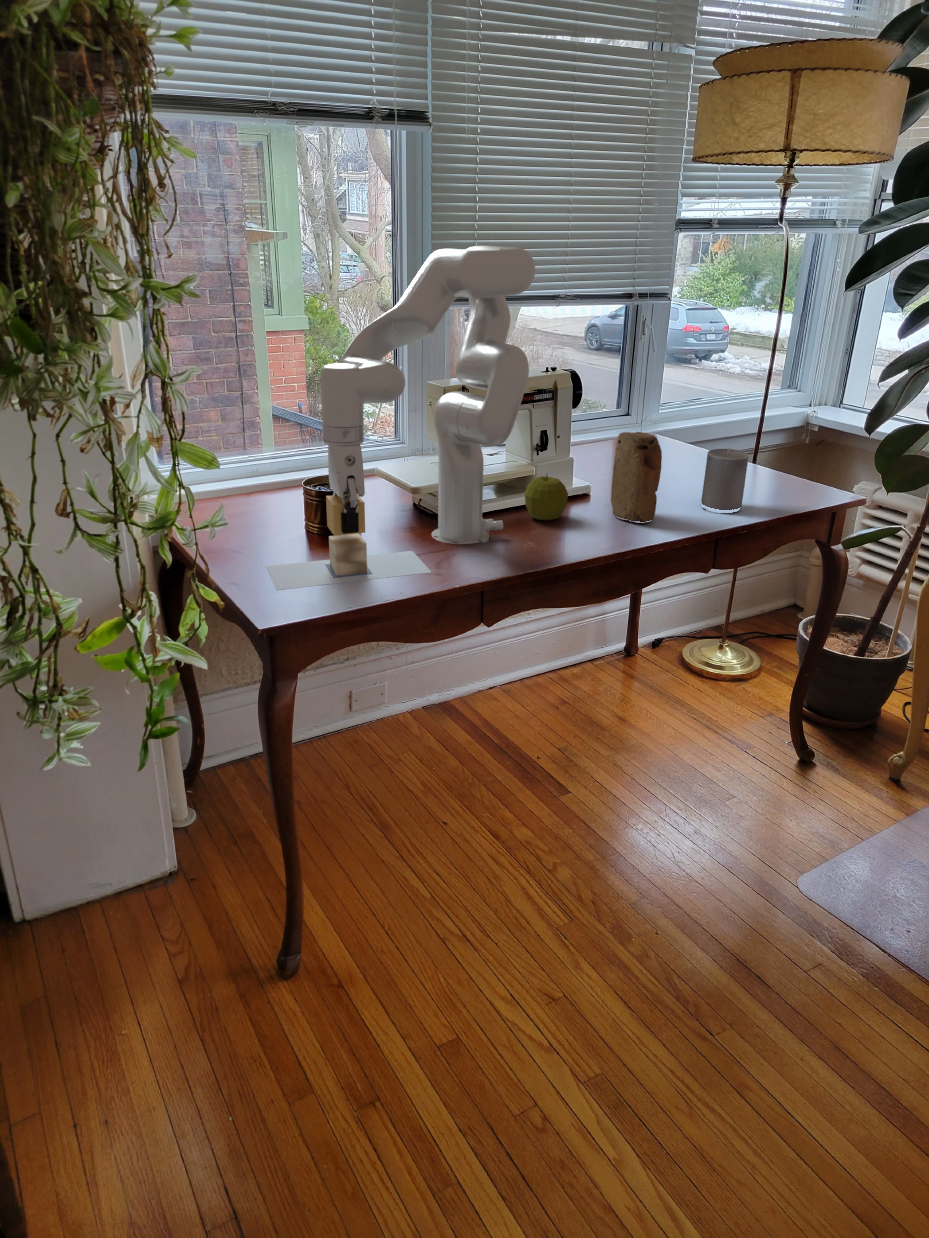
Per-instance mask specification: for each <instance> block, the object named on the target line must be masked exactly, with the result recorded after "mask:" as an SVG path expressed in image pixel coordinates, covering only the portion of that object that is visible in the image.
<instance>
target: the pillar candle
mask: <svg viewBox="0 0 929 1238" xmlns="http://www.w3.org/2000/svg"><path fill="white" fill-rule="evenodd" d="M749 457H750V454H748V453H747V452H746V451H743V450H739V449H738V450H737V449H733V448H729V447H728V448H715V449H711V450H708V451H707V455H706V464H705V470H704V478H703V484H702V485H703V486H702V494H701V501H700V502H702V504H703V505H705V506H707V507H710V508H714V509H719V510H732V509H733V510H734V509H738V508H740V507H741V508H742V506H743V499H744V491H745V485H746V478H747V471H748V464H749Z"/></svg>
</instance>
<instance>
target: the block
mask: <svg viewBox="0 0 929 1238" xmlns="http://www.w3.org/2000/svg"><path fill="white" fill-rule="evenodd" d="M616 439H617V440H616V446H615V450H614V451H615V452H614V458H613V459H614V461H613V468H612V469H613V470H612V477H611V479H612V480H611V491H610V495H611V496H610V502H611V503H610V504H611V506H612V507H611V508H612V515H613V516H614V515H615V516H617V517H620V518H624V519H628V520H631V521H640V522H646V521H650V520H652V521H653V520H654V518H655V515H656V509H657V499H658V498H657V497H658V496H657V494H656V492H657V491H658V490H659V489H658V488H659V484H660V480H661V474H662V473H661V472H662V461H663V460H662V459H663V457H662V456H663V455H662V453H663V451H662V448H661V444H660V443H659V440H658V438H657V436H656V435H653V434H650V433H648V432H643V431H636V432H631V431H630V432H629V431H623V432H620V433H619V434H618V436H617V438H616ZM615 516H614V517H615Z"/></svg>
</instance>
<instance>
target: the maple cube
mask: <svg viewBox="0 0 929 1238" xmlns="http://www.w3.org/2000/svg"><path fill="white" fill-rule="evenodd" d="M328 547H329V549H328V551H329V553H328V554H329V560H330V566H331V568H332V569H333V571H334V572H335V574H336V575H337V576H339V575H348V574H357V573H366V572H367V556H368V554H367V542H366V540H365V539H364V537H362V536H361V533H356V534H346V535H335V536H334V535H329V536H328Z"/></svg>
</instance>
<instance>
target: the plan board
mask: <svg viewBox="0 0 929 1238" xmlns="http://www.w3.org/2000/svg"><path fill="white" fill-rule="evenodd" d="M265 567H266V570H267V572H268V574H269V576H270V579H271V580H272V583H273V584H274V587H275V589H276V591H283V590H290V589H300V588H307V587H308V588H310V587H316V586H325V585H326V586H327V585H334V584H345V583H353V582H361V581H370V580H379V579H380V580H381V579H387V578H388V579H389V578H396V577H404V576H405V577H406V576H413V575H421V574H422V575H423V574H431V573H433V572H432V571H431V569H429V568H428V566H427V565H426V564H425V563H424V562H423V560H421V558H420V557H418V556H417V554H416V553H415V552H414V551H413V550H407V551H400V552H399V551H397V552H389V553H379V554H369V555H368V554H367V572H366V573H357V574H348V575H339V576H337V575H336V574H335V572H334V571H333V569H332V568H331V566H330V559H320V560H312V561H303V562H294V563H284V564H275V565H266V566H265Z"/></svg>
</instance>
